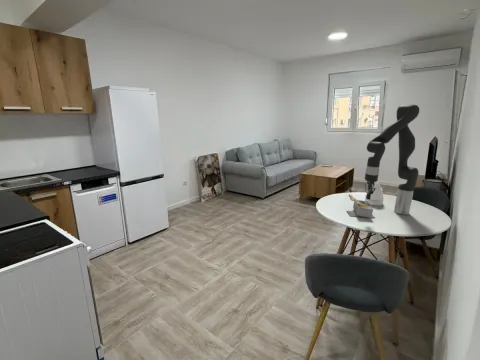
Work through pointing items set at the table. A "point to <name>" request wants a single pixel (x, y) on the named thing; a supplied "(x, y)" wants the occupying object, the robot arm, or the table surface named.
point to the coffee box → (362, 208)
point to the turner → (352, 198)
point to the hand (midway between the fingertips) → (368, 199)
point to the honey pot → (376, 195)
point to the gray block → (353, 214)
